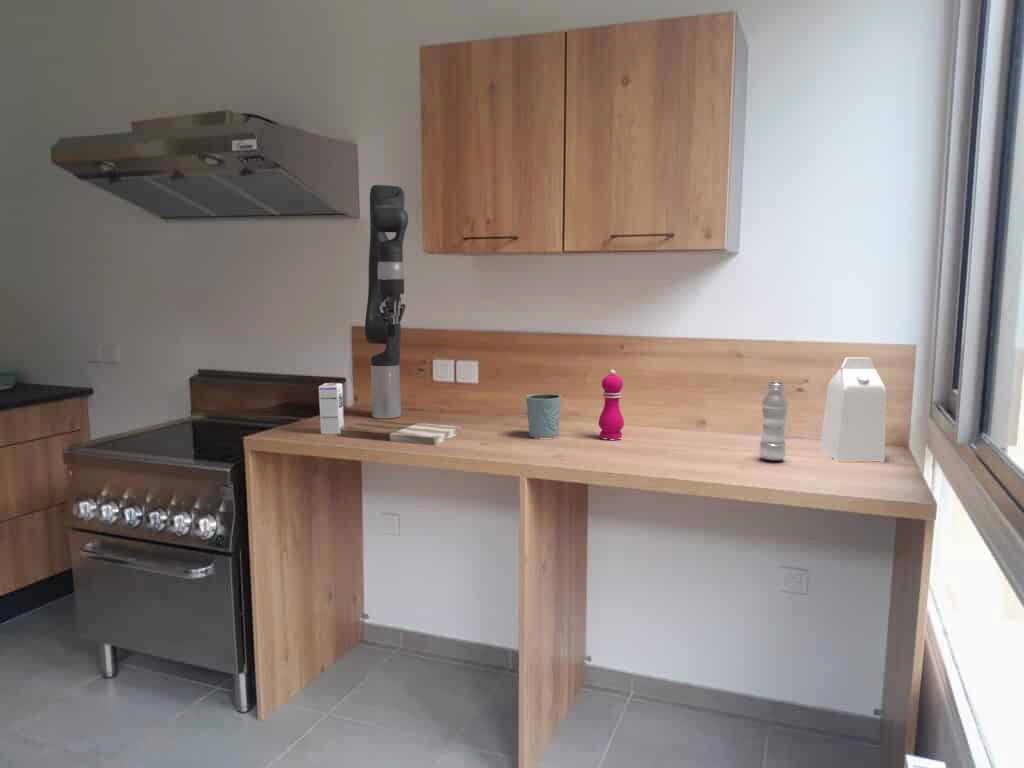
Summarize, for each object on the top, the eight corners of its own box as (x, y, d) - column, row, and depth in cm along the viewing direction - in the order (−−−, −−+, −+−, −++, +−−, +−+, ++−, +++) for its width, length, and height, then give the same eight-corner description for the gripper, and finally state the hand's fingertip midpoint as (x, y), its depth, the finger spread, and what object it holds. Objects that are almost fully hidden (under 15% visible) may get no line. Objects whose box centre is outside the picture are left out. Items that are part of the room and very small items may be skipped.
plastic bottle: (754, 460, 192) (758, 382, 190) (765, 455, 197) (769, 380, 194) (778, 464, 188) (783, 385, 185) (789, 460, 193) (794, 382, 190)
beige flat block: (418, 429, 229) (418, 423, 228) (460, 433, 224) (460, 426, 223) (390, 440, 213) (389, 433, 213) (434, 445, 208) (434, 438, 208)
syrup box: (339, 434, 221) (338, 385, 219) (319, 434, 221) (318, 385, 219) (344, 430, 227) (343, 382, 225) (325, 430, 227) (323, 382, 225)
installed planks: (371, 425, 234) (371, 419, 234) (417, 429, 229) (417, 422, 228) (340, 436, 219) (340, 429, 218) (389, 440, 213) (388, 433, 213)
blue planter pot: (566, 438, 217) (567, 397, 216) (535, 441, 213) (535, 399, 211) (550, 431, 227) (550, 392, 225) (519, 434, 222) (520, 394, 220)
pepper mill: (604, 441, 213) (606, 371, 210) (594, 436, 220) (595, 368, 217) (627, 440, 216) (629, 370, 213) (616, 434, 222) (618, 367, 219)
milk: (864, 451, 203) (871, 355, 199) (884, 462, 191) (892, 360, 188) (819, 451, 203) (825, 355, 199) (836, 461, 192) (843, 360, 188)
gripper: (390, 277, 226) (392, 334, 229) (367, 278, 214) (369, 338, 217) (413, 277, 224) (414, 335, 227) (391, 278, 212) (392, 339, 214)
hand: (392, 337), depth 222 cm, fingers closed
